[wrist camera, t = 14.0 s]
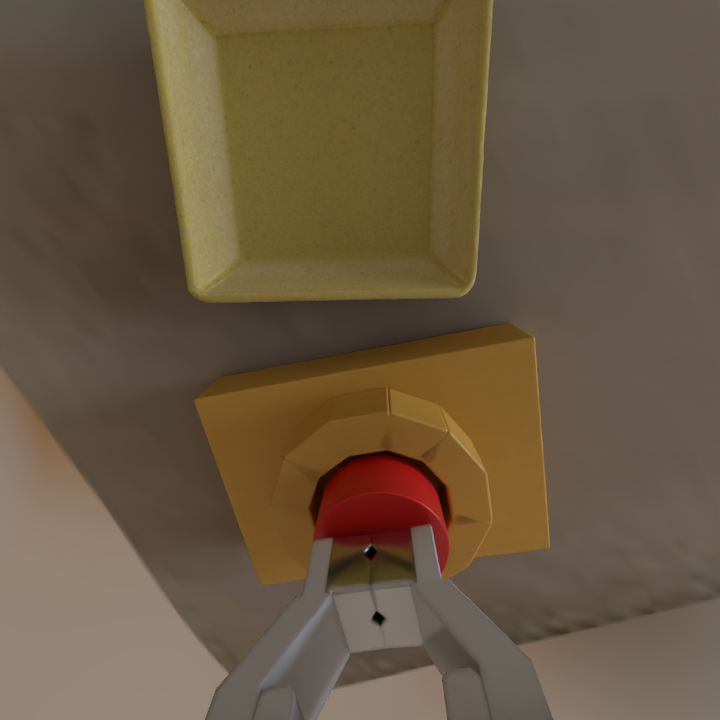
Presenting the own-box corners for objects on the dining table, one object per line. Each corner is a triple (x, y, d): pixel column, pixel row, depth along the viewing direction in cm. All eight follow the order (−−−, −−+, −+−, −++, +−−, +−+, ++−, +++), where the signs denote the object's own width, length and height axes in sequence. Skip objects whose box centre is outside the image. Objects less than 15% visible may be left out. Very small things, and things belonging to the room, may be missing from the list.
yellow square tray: (175, -5, 11) (129, -63, 9) (477, -23, 10) (502, -86, 8) (216, 294, 13) (188, 304, 11) (460, 290, 13) (475, 298, 11)
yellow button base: (510, 321, 13) (564, 353, 9) (527, 507, 15) (577, 594, 12) (219, 376, 14) (161, 425, 10) (274, 542, 17) (244, 632, 13)
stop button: (430, 445, 11) (439, 482, 9) (446, 544, 12) (458, 594, 10) (309, 464, 11) (297, 503, 9) (336, 559, 12) (329, 609, 10)
